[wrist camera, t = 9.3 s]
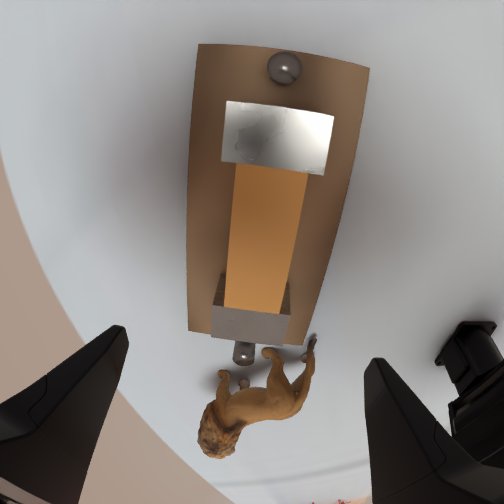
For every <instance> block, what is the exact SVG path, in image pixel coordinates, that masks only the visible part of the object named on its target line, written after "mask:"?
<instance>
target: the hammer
mask: <svg viewBox="0 0 504 504" xmlns="http://www.w3.org/2000/svg"><path fill="white" fill-rule="evenodd" d="M333 120H334V116H332V115H329V114H325V113H322V112H317V111H312V110H306V109H300V108H294V107H288V106H281V105H274V104H266V103H258V102H249V101H238V100H233V101H227V104H226V113H225V123H224V134H223V145H222V156H221V161H222V162H231V163H236V172H235V182H234V192H233V203H232V214H231V225H230V236H229V248H228V260H227V273H226V275H225V274H221V275H220V278H219V282H218V286H217V289H216V293H215V297H214V300H213V304H212V325H211V337H214V338H221V339H228V340H235V341H242V342H250V343H258V344H267V345H276V346H283V342H284V339H285V335H286V331H287V328H288V324H289V320H290V317H291V308H290V289H289V283H286V282H287V277H288V273H289V268H290V264H291V259H292V254H293V249H294V245H295V240H296V235H297V230H298V225H299V220H300V215H301V210H302V205H303V199H304V194H305V189H306V184H307V178H308V173H311V174H317V175H324V170H325V165H326V159H327V154H328V149H329V143H330V138H331V132H332V126H333Z"/></svg>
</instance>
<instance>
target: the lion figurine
mask: <svg viewBox="0 0 504 504" xmlns="http://www.w3.org/2000/svg"><path fill="white" fill-rule="evenodd" d="M316 341H317V339H316V338H314V339H312V340H310V341H309V344H308V347H307V354H304V355H302V359H301V361H302V362H303V363H306V368H305V370H304V371H303V373H302V374H301V375H300V376H299V377H298V378H297V379H296V380H295V381H294V382H293V383H292V384H291V385H290V383H289V381H288V379H287V377H286V376H285V374H284V372H283V365H284V359H283V358H282V357H281V356H279V355H278V354H277V352H276V351H275V350H273V349H271V348H265V349H263V350H262V355H263V357H264V358H266V359H269V358H271V359H272V362H273V365H272V369H271V371H270V374H269V376H268V378H267V387H266V388H262V387H251V388H249V387H250V382H249V381H247V380H241V381H239V383H238V385H239V386H240V391H238V392H236V393H234V394H233V395H231V394H230V392H229V389H228V388H229V382H230V379H231V377H230V374H229V372H227V371H224V370H220V371H219V372H218V375H219V377H220V378H222V380H221V382H220V385H219V387H218V389H217V393H216V400H213V401H212V402H210V403H209V404H207V406H206V409H205V410H204V412H203V416H202V419H201V421H200V428H199V430H198V440H197V442H198V444H199V445H200V447H201V449H202V450H203V452H204V454H206V455H207V456H209V457H212V458H217V459H222V458H224V457H225V456H229V455H231V454H232V453H234V452H235V448H234V447H235V445H236V442H237V441H238V438H239V435H240V433H241V430H242V429H243V428H244V427H245V426H247V425H249V424H252V423H255V422H258V421H263V420H283V419H287V418H290V417H292V416H293V415H295V414H296V413H298V412H299V411H300V410H301V408H302V405H303V403H304V401H305V399H306V397H307V394H308V391H309V388H310V383H311V376H312V375H313V374H314V371H315V357H314V355H313V354H312V352H313V349H314V345H315V343H316Z"/></svg>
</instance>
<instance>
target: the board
mask: <svg viewBox="0 0 504 504" xmlns="http://www.w3.org/2000/svg"><path fill="white" fill-rule="evenodd" d="M369 71H370V68H368V67H365V66H361V65H357V64H354V63H350V62H346V61H341V60H337V59H333V58H328V57H323V56H318V55H313V54H308V53H302V52H296V51H289V50H282V49H274V48H266V47H256V46H244V45H227V44H199V45H198V53H197V61H196V71H195V80H194V91H193V102H192V114H191V128H190V143H189V162H188V187H187V243H186V250H187V306H188V331H193V332H199V333H205V334H211V325H212V304H213V300H214V297H215V293H216V289H217V286H218V282H219V278H220V275H221V274H225V275H226V273H227V260H228V248H229V236H230V225H231V214H232V203H233V192H234V182H235V172H236V163H231V162H222V161H221V156H222V145H223V134H224V123H225V113H226V104H227V101H233V100H238V101H249V102H258V103H266V104H274V105H281V106H288V107H294V108H300V109H306V110H312V111H317V112H322V113H325V114H329V115H332V116H334V120H333V126H332V132H331V138H330V143H329V149H328V154H327V159H326V165H325V170H324V175H317V174H311V173H308V178H307V184H306V189H305V194H304V199H303V205H302V210H301V215H300V220H299V225H298V230H297V235H296V240H295V245H294V249H293V254H292V259H291V264H290V268H289V273H288V277H287V282H286V283H289V289H290V308H291V317H290V320H289V324H288V328H287V331H286V335H285V339H284V342H283V344H291V345H303V342H304V339H305V336H306V333H307V330H308V327H309V324H310V321H311V318H312V315H313V312H314V309H315V306H316V303H317V300H318V296H319V293H320V290H321V287H322V283H323V280H324V277H325V273H326V270H327V266H328V263H329V259H330V256H331V252H332V249H333V245H334V241H335V237H336V234H337V230H338V226H339V222H340V218H341V214H342V210H343V206H344V202H345V198H346V194H347V189H348V185H349V181H350V176H351V172H352V167H353V162H354V158H355V153H356V148H357V143H358V138H359V132H360V127H361V122H362V116H363V110H364V104H365V98H366V92H367V85H368V78H369ZM255 344H256V343H250V342H242V341H235V346H234V353H233V361H234V363H236V364H237V365H240V366H249V365H251V364H253V362H254V356H255Z"/></svg>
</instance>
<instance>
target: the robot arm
mask: <svg viewBox="0 0 504 504" xmlns="http://www.w3.org/2000/svg"><path fill="white" fill-rule="evenodd" d="M496 327H497V325H496V323H495V322H463V323H461V324H460V325H459V327H458V328H457V330H456V331H455V333H454V334H453V336H452V337H451V339H450V340H449V342H448V343H447V345H446V346H445V348H444V349H443V351H442V352H441V354H440V355H439V356H438V358H437V359H436V360H435V364H436V366H443V365H445V367H446V369H447V372H448V374H449V377H450V379H451V381H452V383H453V384H455V387H456V389H457V392H458V394H459V397H458V398H457V399H455V400H454V401H451V402H450V403H449V404H448V408H449V418H450V425H451V433H452V437H451V436H450V435H449V434H448V432H447V431H446V430H445V429H444V428H443V427H442V426H441V424H440V423H439V422H438V421H436V418H435V417H434V416H433V415H432V414H431V412H430V411H429V410H428V409H427V408H426V406H425V405H424V404H423V403H422V402H421V401H420V399H419V398H418V397H417V396H416V395H415V393H414V392H413V391H412V390H411V389H410V388H409V386H408V385H407V384H406V383H405V382H404V381H403V380H402V378H401V377H400V376H399V375H398V374H397V373H396V371H395V370H394V369H393V368H392V367H391V366H390V365H389V363H388V362H387V361H386V360H385V359H384V358H373V359H372V360H371V362H370V363H369V365H368V367H367V368H366V370H365V372H364V401H365V418H366V427H367V436H368V445H369V456H370V468H371V483H372V502H373V504H504V359H503V357H502V355H501V353H500V351H499V350H498V348H497V346H496V344H495V343H494V341H493V339H492V338H491V335H492V333H493V332H494V330H495V329H496ZM128 347H129V341H128V337H127V333H126V329H125V328H124V327H123V326H119V325H113V326H111V327H110V328H109V329H107V330H106V331H104V332H103V333H102V334H100V335H99V336H97V337H96V338H95V339H93V340H92V341H91V342H89V343H88V344H86V345H85V346H84V347H82V348H81V349H80V350H78V351H77V352H76V353H74V354H73V355H71V356H70V357H69V358H67V359H66V360H65V361H63V362H62V363H61V364H59V365H58V366H56V367H55V368H54V369H52V370H51V371H50V372H49V373H47V375H44V376H43V377H42V378H40V379H39V380H37V381H36V382H35V383H33V384H32V385H30V386H29V387H27V388H26V389H24V390H23V391H21V392H19V393H18V394H16V395H14V396H13V397H11V398H9V399H7V400H6V401H4V402H2V403H1V404H0V504H78V502H79V499H80V495H81V492H82V488H83V485H84V481H85V478H86V475H87V470H88V468H89V465H90V461H91V458H92V455H93V452H94V449H95V446H96V443H97V440H98V437H99V434H100V431H101V429H102V426H103V423H104V420H105V418H106V415H107V412H108V409H109V407H110V404H111V401H112V399H113V396H114V393H115V391H116V388H117V386H118V383H119V380H120V376H121V372H122V369H123V365H124V361H125V358H126V354H127V351H128Z"/></svg>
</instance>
